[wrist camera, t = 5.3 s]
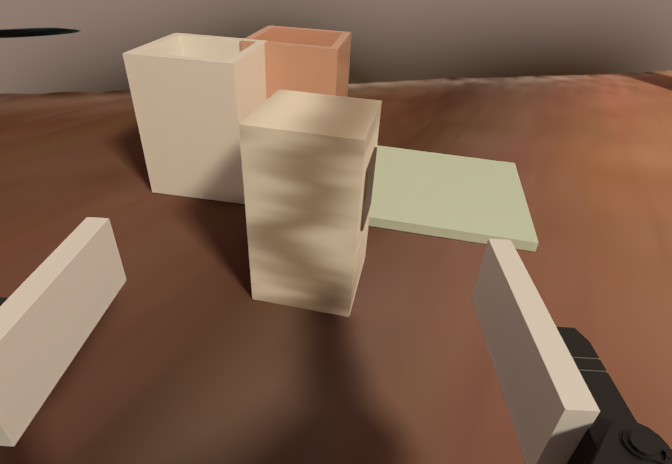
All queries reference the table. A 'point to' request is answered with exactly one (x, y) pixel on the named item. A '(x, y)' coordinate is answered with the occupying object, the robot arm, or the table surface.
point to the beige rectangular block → (308, 197)
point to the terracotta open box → (304, 59)
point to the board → (450, 197)
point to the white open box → (195, 111)
